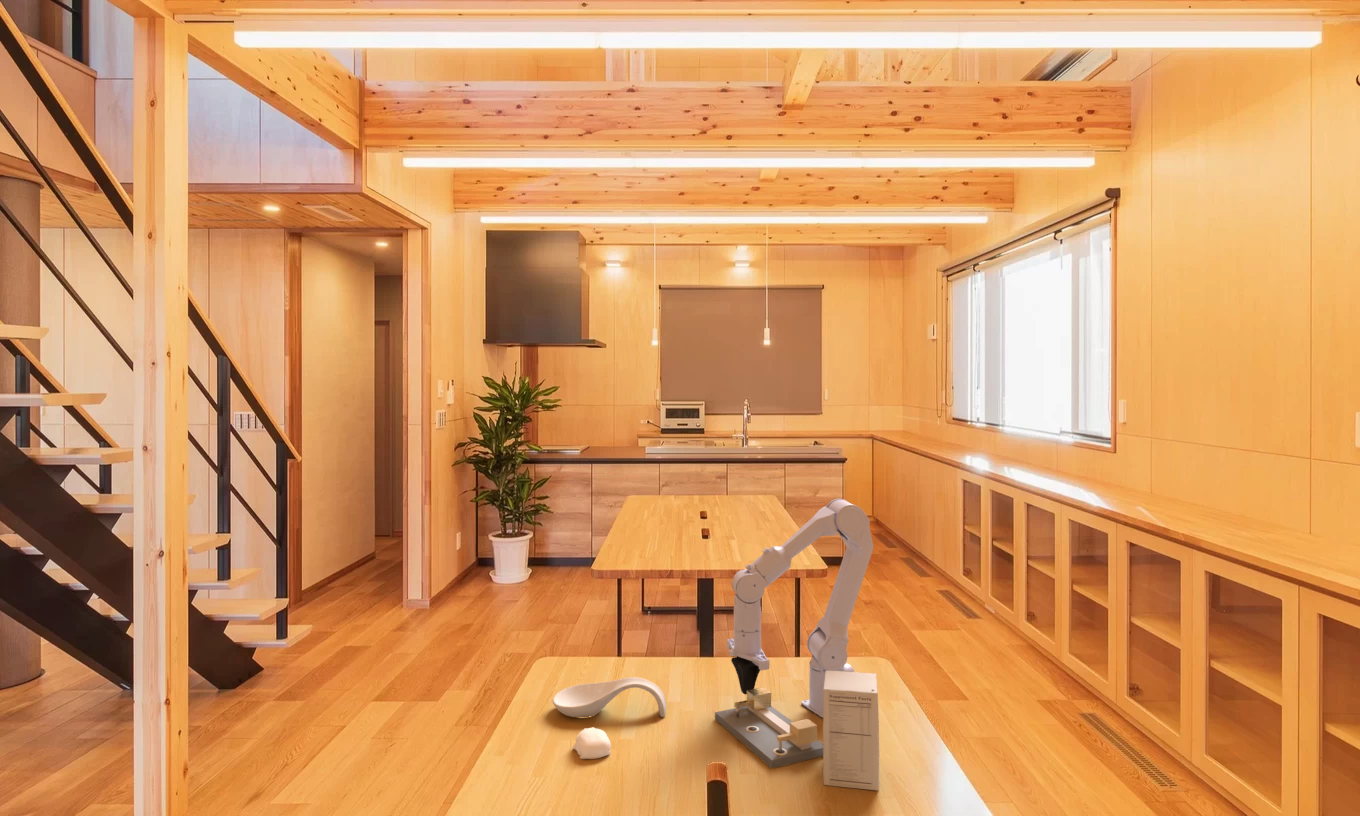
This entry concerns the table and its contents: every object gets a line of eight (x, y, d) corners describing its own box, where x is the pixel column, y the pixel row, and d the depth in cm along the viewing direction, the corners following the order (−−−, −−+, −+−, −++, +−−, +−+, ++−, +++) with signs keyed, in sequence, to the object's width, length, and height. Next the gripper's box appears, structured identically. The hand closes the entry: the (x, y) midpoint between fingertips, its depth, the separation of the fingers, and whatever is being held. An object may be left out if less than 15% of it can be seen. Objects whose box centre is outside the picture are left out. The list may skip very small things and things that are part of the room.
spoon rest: (547, 725, 153) (547, 690, 153) (558, 701, 165) (558, 668, 165) (664, 726, 153) (664, 691, 153) (667, 702, 165) (667, 669, 164)
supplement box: (878, 765, 136) (878, 672, 136) (879, 792, 127) (880, 693, 127) (824, 759, 139) (824, 668, 138) (822, 785, 130) (822, 688, 129)
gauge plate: (765, 708, 160) (765, 682, 160) (827, 754, 140) (827, 724, 140) (715, 719, 155) (715, 691, 155) (771, 768, 135) (771, 737, 135)
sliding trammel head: (763, 707, 157) (763, 687, 157) (771, 712, 154) (771, 692, 154) (731, 713, 154) (731, 693, 154) (738, 719, 151) (739, 698, 151)
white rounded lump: (570, 745, 145) (570, 725, 145) (604, 739, 147) (604, 720, 147) (579, 764, 137) (579, 744, 137) (615, 758, 140) (615, 738, 139)
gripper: (714, 621, 164) (714, 683, 164) (747, 641, 151) (747, 709, 151) (743, 617, 167) (743, 678, 167) (778, 636, 153) (778, 703, 154)
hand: (747, 692), depth 159 cm, fingers closed
